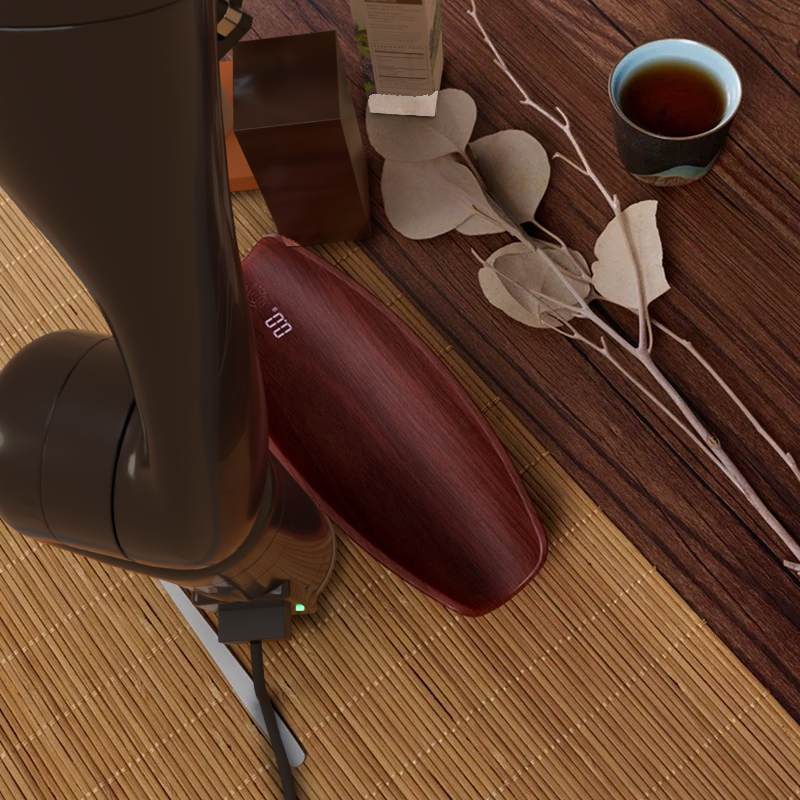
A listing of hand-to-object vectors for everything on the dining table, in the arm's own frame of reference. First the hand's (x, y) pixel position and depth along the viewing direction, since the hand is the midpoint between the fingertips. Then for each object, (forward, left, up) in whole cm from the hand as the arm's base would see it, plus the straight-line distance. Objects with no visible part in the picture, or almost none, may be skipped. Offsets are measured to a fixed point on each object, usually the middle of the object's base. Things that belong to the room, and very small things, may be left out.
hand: (175, 10), depth 64 cm
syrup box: (+3, -15, -15) cm, 22 cm away
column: (-8, -8, -15) cm, 19 cm away
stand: (0, +2, -15) cm, 15 cm away
